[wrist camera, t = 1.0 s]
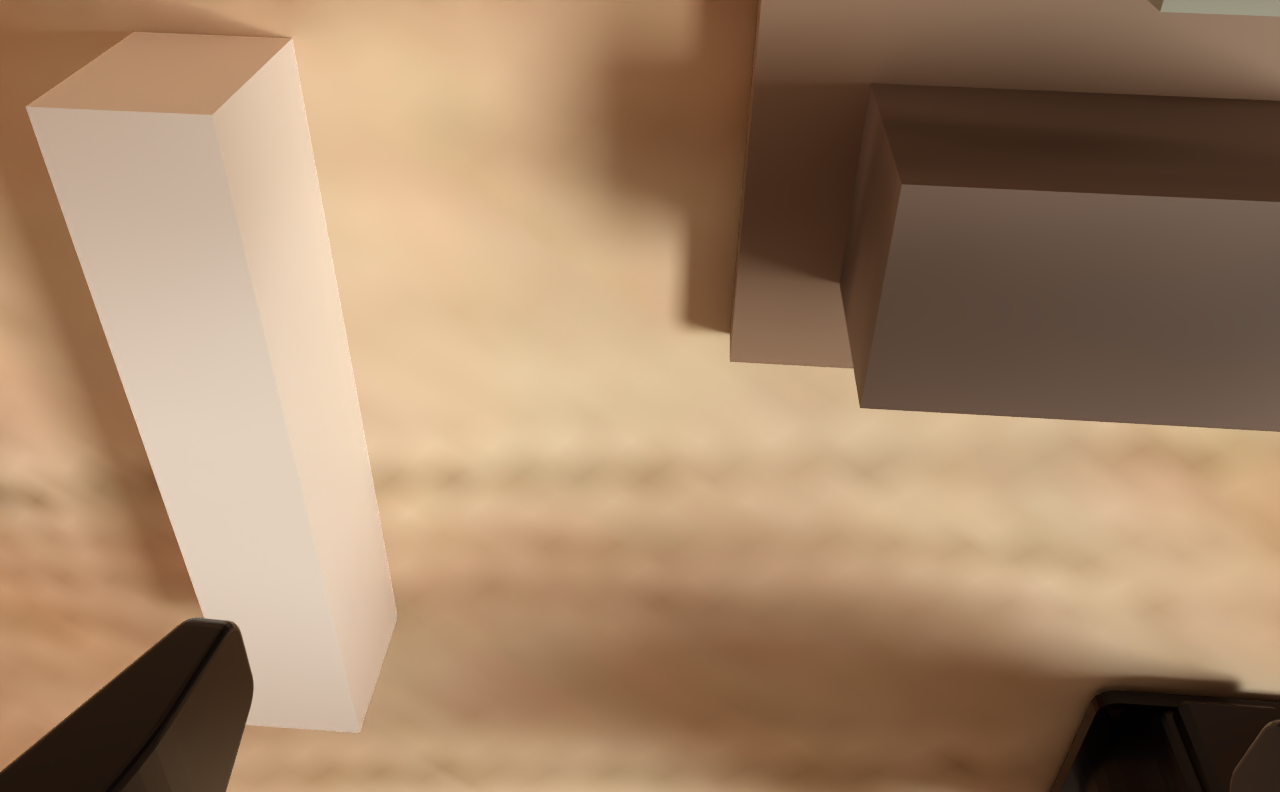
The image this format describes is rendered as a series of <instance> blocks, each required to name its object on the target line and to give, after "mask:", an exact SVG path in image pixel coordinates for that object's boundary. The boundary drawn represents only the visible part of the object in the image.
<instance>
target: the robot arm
mask: <svg viewBox="0 0 1280 792" xmlns="http://www.w3.org/2000/svg"><path fill="white" fill-rule="evenodd" d="M253 690H254V683H253V676H252V672H251V668H250V664H249V660H248V657H247V653H246V649H245V645H244V642H243V638H242V634H241V631H240V629H239V627H238V626H237V625H236V624H235V623H234V622H232V621H229V620H218V619H208V618H191V619H188V620H186V621H184V622H182V623H181V624H180V625H178V626H177V627H176V628H175V629H173V630H172V631H171V632H170V633H168V634H167V635H166V636H165V637H164V638H162V639H161V640H160V641H159V642H158V643H156V644H155V645H154V646H153V647H151V648H150V649H149V650H148V651H147V652H145V653H144V654H143V655H142V656H141V657H139V658H138V659H137V660H136V661H134V662H133V663H132V664H131V665H130V666H128V667H127V668H126V669H125V670H124V671H122V672H121V673H120V674H119V675H117V676H116V677H115V678H114V679H113V680H111V681H110V682H109V683H108V684H107V685H105V686H104V687H103V688H102V689H100V690H99V691H98V692H97V693H96V694H94V695H93V696H92V697H91V698H90V699H88V700H87V701H86V702H85V703H84V704H82V705H81V706H80V707H79V708H77V709H76V710H75V711H74V712H73V713H71V714H70V715H69V716H68V717H67V718H65V719H64V720H63V721H62V722H60V723H59V724H58V725H57V726H56V727H54V728H53V729H52V730H51V731H50V732H48V733H47V734H46V735H45V736H43V737H42V738H41V739H40V740H39V741H37V742H36V743H35V744H34V745H33V746H31V747H30V748H29V749H28V750H26V751H25V752H24V753H23V754H22V755H20V756H19V757H18V758H17V759H16V760H14V761H13V762H12V763H11V764H9V765H8V766H7V767H6V768H5V769H3V770H2V771H1V772H0V792H226V790H227V786H228V783H229V779H230V776H231V773H232V769H233V766H234V762H235V759H236V756H237V752H238V749H239V745H240V742H241V738H242V735H243V732H244V728H245V725H246V721H247V718H248V715H249V711H250V708H251V704H252V698H253ZM1051 792H1280V702H1274V701H1260V700H1245V699H1230V698H1215V697H1200V696H1186V695H1171V694H1156V693H1141V692H1127V691H1107V692H1103V693H1100V694H1099V695H1097V696H1095V698H1094V699H1093V700H1092V702H1091V704H1090V706H1089V708H1088V710H1087V713H1086V715H1085V717H1084V719H1083V721H1082V724H1081V726H1080V728H1079V730H1078V732H1077V735H1076V737H1075V739H1074V741H1073V743H1072V746H1071V748H1070V750H1069V752H1068V754H1067V757H1066V759H1065V761H1064V763H1063V765H1062V768H1061V770H1060V772H1059V774H1058V776H1057V779H1056V781H1055V783H1054V785H1053V788H1052V790H1051Z"/></svg>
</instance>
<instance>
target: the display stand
mask: <svg viewBox="0 0 1280 792" xmlns="http://www.w3.org/2000/svg"><path fill="white" fill-rule="evenodd" d="M730 362H746V363H764V364H783V365H801V366H819V367H837V368H854V374H855V380H856V386H857V392H858V398H859V404H860V408H869V409H887V410H905V411H923V412H940V413H958V414H976V415H993V416H1011V417H1029V418H1046V419H1064V420H1082V421H1099V422H1117V423H1135V424H1152V425H1170V426H1188V427H1206V428H1223V429H1241V430H1259V431H1276V432H1280V0H758V12H757V24H756V36H755V47H754V59H753V71H752V82H751V94H750V106H749V117H748V129H747V141H746V153H745V164H744V176H743V188H742V199H741V211H740V223H739V235H738V246H737V258H736V270H735V281H734V293H733V305H732V316H731V328H730Z"/></svg>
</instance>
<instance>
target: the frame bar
mask: <svg viewBox="0 0 1280 792" xmlns="http://www.w3.org/2000/svg"><path fill="white" fill-rule="evenodd" d="M26 110H27V113H28V116H29V118H30V121H31V124H32V127H33V130H34V133H35V136H36V138H37V141H38V144H39V147H40V150H41V153H42V156H43V158H44V161H45V164H46V167H47V170H48V173H49V176H50V178H51V181H52V184H53V187H54V190H55V193H56V196H57V198H58V201H59V204H60V207H61V210H62V213H63V216H64V218H65V221H66V224H67V227H68V230H69V233H70V236H71V238H72V241H73V244H74V247H75V250H76V253H77V256H78V259H79V261H80V264H81V267H82V270H83V273H84V276H85V279H86V281H87V284H88V287H89V290H90V293H91V296H92V299H93V301H94V304H95V307H96V310H97V313H98V316H99V319H100V321H101V324H102V327H103V330H104V333H105V336H106V339H107V341H108V344H109V347H110V350H111V353H112V356H113V359H114V361H115V364H116V367H117V370H118V373H119V376H120V379H121V381H122V384H123V387H124V390H125V393H126V396H127V399H128V401H129V404H130V407H131V410H132V413H133V416H134V419H135V422H136V424H137V427H138V430H139V433H140V436H141V439H142V442H143V444H144V447H145V450H146V453H147V456H148V459H149V462H150V464H151V467H152V470H153V473H154V476H155V479H156V482H157V484H158V487H159V490H160V493H161V496H162V499H163V502H164V504H165V507H166V510H167V513H168V516H169V519H170V522H171V524H172V527H173V530H174V533H175V536H176V539H177V542H178V544H179V547H180V550H181V553H182V556H183V559H184V562H185V565H186V567H187V570H188V573H189V576H190V579H191V582H192V585H193V587H194V590H195V593H196V596H197V599H198V602H199V605H200V607H201V610H202V613H203V616H204V618H208V619H218V620H229V621H232V622H234V623H235V624H236V625H237V626H238V627H239V629H240V631H241V634H242V638H243V642H244V645H245V649H246V653H247V657H248V660H249V664H250V668H251V672H252V676H253V683H254V690H253V698H252V704H251V708H250V711H249V715H248V718H247V721H246V725H252V726H266V727H280V728H294V729H309V730H323V731H337V732H351V733H360V731H361V728H362V725H363V722H364V718H365V715H366V712H367V709H368V706H369V703H370V700H371V697H372V694H373V691H374V688H375V685H376V682H377V679H378V676H379V673H380V670H381V667H382V664H383V661H384V658H385V655H386V652H387V649H388V646H389V643H390V640H391V637H392V634H393V631H394V628H395V625H396V622H397V619H398V615H397V610H396V604H395V599H394V593H393V588H392V582H391V577H390V571H389V566H388V560H387V555H386V549H385V544H384V538H383V533H382V528H381V522H380V517H379V511H378V506H377V500H376V495H375V489H374V484H373V478H372V473H371V467H370V462H369V456H368V451H367V445H366V440H365V434H364V429H363V423H362V418H361V412H360V407H359V401H358V396H357V390H356V385H355V379H354V374H353V369H352V363H351V358H350V352H349V347H348V341H347V336H346V330H345V325H344V319H343V314H342V308H341V303H340V297H339V292H338V286H337V281H336V275H335V270H334V264H333V259H332V253H331V248H330V242H329V237H328V231H327V226H326V220H325V215H324V210H323V204H322V199H321V193H320V188H319V182H318V177H317V171H316V166H315V160H314V155H313V149H312V144H311V138H310V133H309V127H308V122H307V116H306V111H305V105H304V100H303V94H302V89H301V83H300V78H299V72H298V67H297V61H296V56H295V51H294V45H293V40H292V38H275V37H251V36H228V35H204V34H180V33H156V32H133V33H131V34H130V35H128V36H127V37H125V38H124V39H122V40H121V41H120V42H118V43H117V44H115V45H114V46H112V47H111V48H109V49H108V50H107V51H105V52H104V53H102V54H101V55H99V56H98V57H96V58H95V59H94V60H92V61H91V62H89V63H88V64H86V65H85V66H83V67H82V68H81V69H79V70H78V71H76V72H75V73H73V74H72V75H70V76H69V77H68V78H66V79H65V80H63V81H62V82H60V83H59V84H57V85H56V86H55V87H53V88H52V89H50V90H49V91H47V92H46V93H44V94H43V95H42V96H40V97H39V98H37V99H36V100H34V101H33V102H31V103H30V104H29V105H27V106H26Z"/></svg>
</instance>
